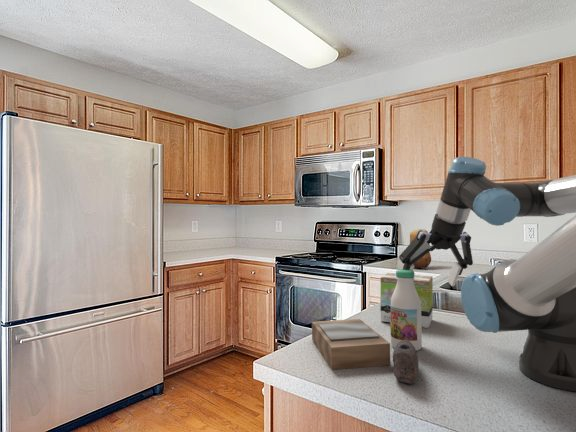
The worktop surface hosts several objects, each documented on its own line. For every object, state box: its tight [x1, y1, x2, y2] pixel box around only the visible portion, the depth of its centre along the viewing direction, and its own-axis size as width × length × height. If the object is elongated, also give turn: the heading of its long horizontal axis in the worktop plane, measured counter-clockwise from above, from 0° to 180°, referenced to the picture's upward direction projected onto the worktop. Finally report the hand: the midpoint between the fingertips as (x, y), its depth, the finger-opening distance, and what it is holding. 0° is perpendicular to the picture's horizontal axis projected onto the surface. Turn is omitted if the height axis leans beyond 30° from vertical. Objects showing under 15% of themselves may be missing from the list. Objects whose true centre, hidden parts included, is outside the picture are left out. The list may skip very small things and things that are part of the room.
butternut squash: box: [409, 228, 432, 269], centre depth 227 cm, size 14×13×25 cm
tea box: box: [379, 272, 434, 329], centre depth 117 cm, size 15×10×15 cm
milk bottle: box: [390, 269, 423, 352], centre depth 94 cm, size 8×8×20 cm
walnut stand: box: [311, 318, 391, 371], centre depth 92 cm, size 20×14×5 cm
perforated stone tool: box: [391, 340, 419, 385], centre depth 79 cm, size 15×5×7 cm, turn 160°
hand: (428, 282), depth 102 cm, fingers open, 13 cm apart
